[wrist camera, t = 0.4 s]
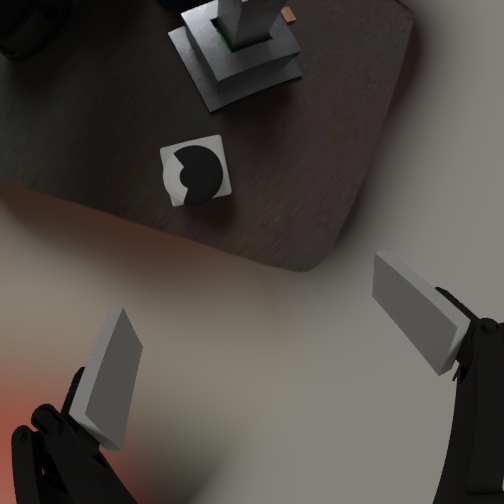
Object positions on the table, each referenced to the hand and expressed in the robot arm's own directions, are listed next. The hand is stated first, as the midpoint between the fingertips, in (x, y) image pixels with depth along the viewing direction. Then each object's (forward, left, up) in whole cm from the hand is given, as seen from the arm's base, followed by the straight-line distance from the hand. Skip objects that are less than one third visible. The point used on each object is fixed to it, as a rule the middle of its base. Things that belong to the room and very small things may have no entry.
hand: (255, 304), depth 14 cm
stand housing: (-18, +10, -28) cm, 35 cm away
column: (-18, +10, -28) cm, 35 cm away
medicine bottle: (-5, -2, -28) cm, 28 cm away
